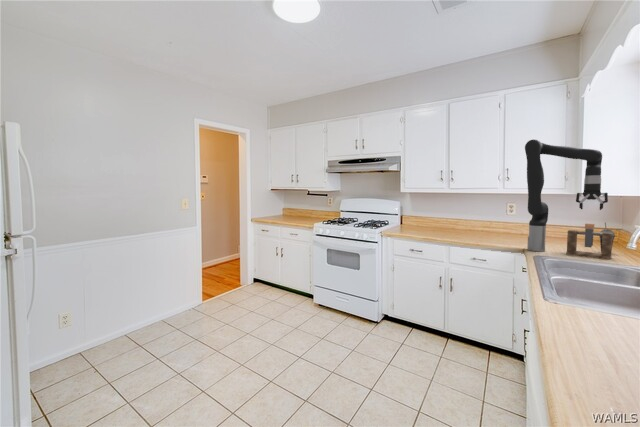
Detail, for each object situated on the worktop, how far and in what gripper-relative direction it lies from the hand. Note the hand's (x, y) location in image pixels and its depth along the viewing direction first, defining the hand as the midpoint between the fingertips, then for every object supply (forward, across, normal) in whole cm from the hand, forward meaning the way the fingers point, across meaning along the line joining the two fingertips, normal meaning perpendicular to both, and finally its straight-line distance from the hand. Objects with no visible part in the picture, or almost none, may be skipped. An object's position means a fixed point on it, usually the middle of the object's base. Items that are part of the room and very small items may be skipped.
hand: (590, 209), depth 178 cm
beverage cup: (+29, +7, +17) cm, 34 cm away
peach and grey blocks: (+23, 0, 0) cm, 23 cm away
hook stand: (+29, 0, 0) cm, 29 cm away
